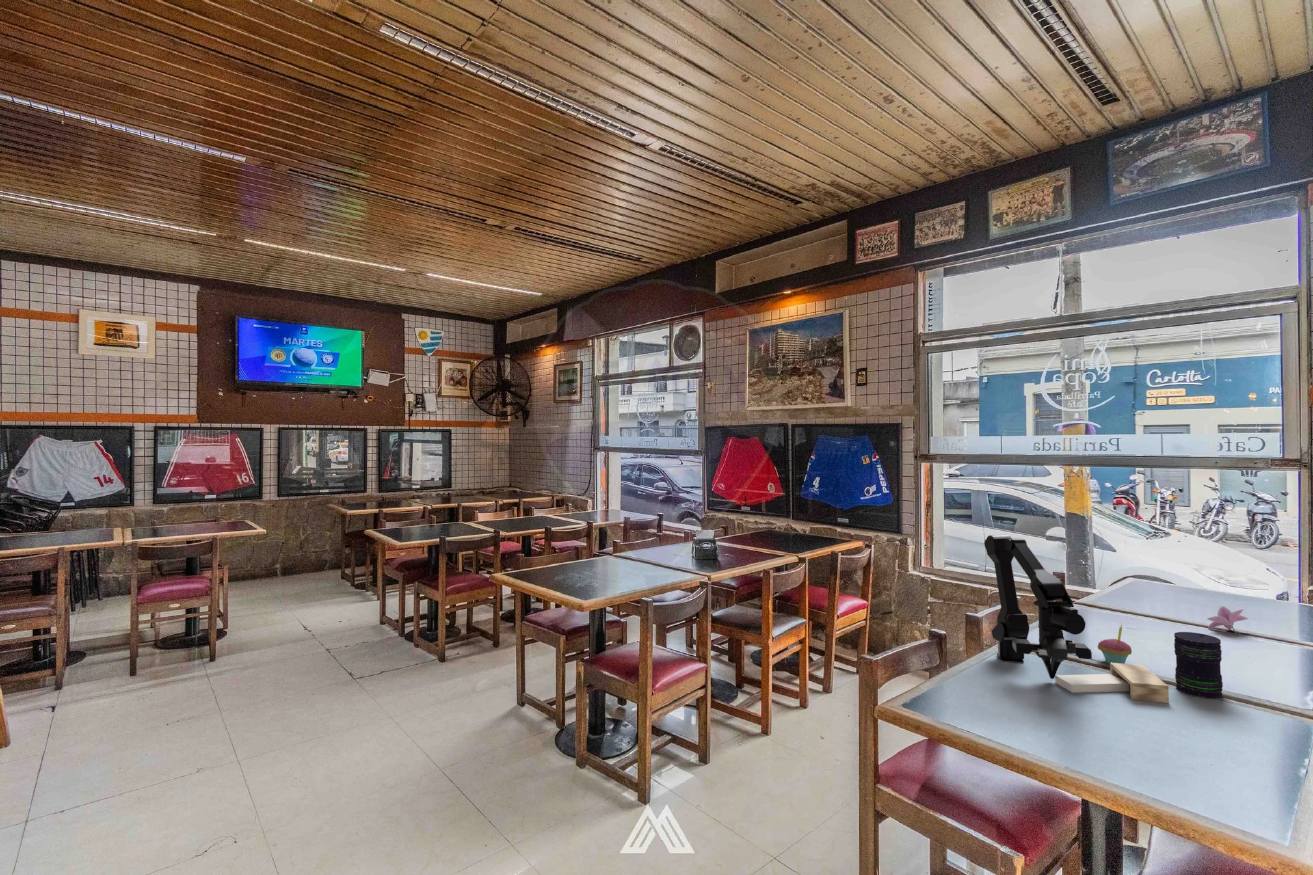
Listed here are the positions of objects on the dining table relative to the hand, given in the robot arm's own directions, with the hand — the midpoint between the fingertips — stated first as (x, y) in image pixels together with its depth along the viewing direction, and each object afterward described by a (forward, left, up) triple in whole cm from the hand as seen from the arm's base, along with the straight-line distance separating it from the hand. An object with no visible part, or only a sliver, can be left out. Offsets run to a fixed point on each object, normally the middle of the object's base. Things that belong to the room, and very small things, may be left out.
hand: (1051, 678), depth 178 cm
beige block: (+21, 0, -1) cm, 21 cm away
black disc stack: (+36, +3, -1) cm, 36 cm away
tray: (+10, -1, -2) cm, 10 cm away
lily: (+71, +69, -1) cm, 99 cm away
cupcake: (+23, +23, -1) cm, 32 cm away
